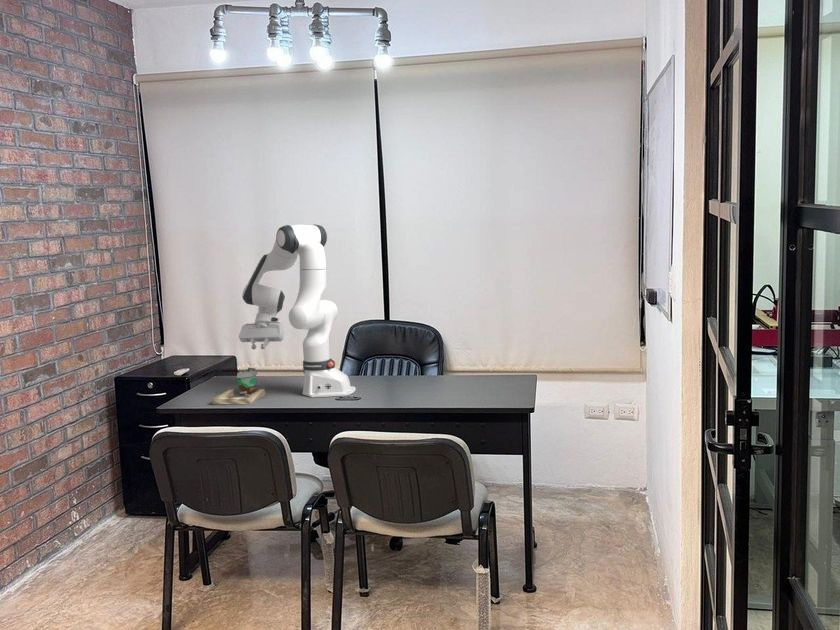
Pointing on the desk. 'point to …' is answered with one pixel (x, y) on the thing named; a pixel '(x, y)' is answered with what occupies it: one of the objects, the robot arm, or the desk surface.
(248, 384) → the food container
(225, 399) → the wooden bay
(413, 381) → the desk surface
